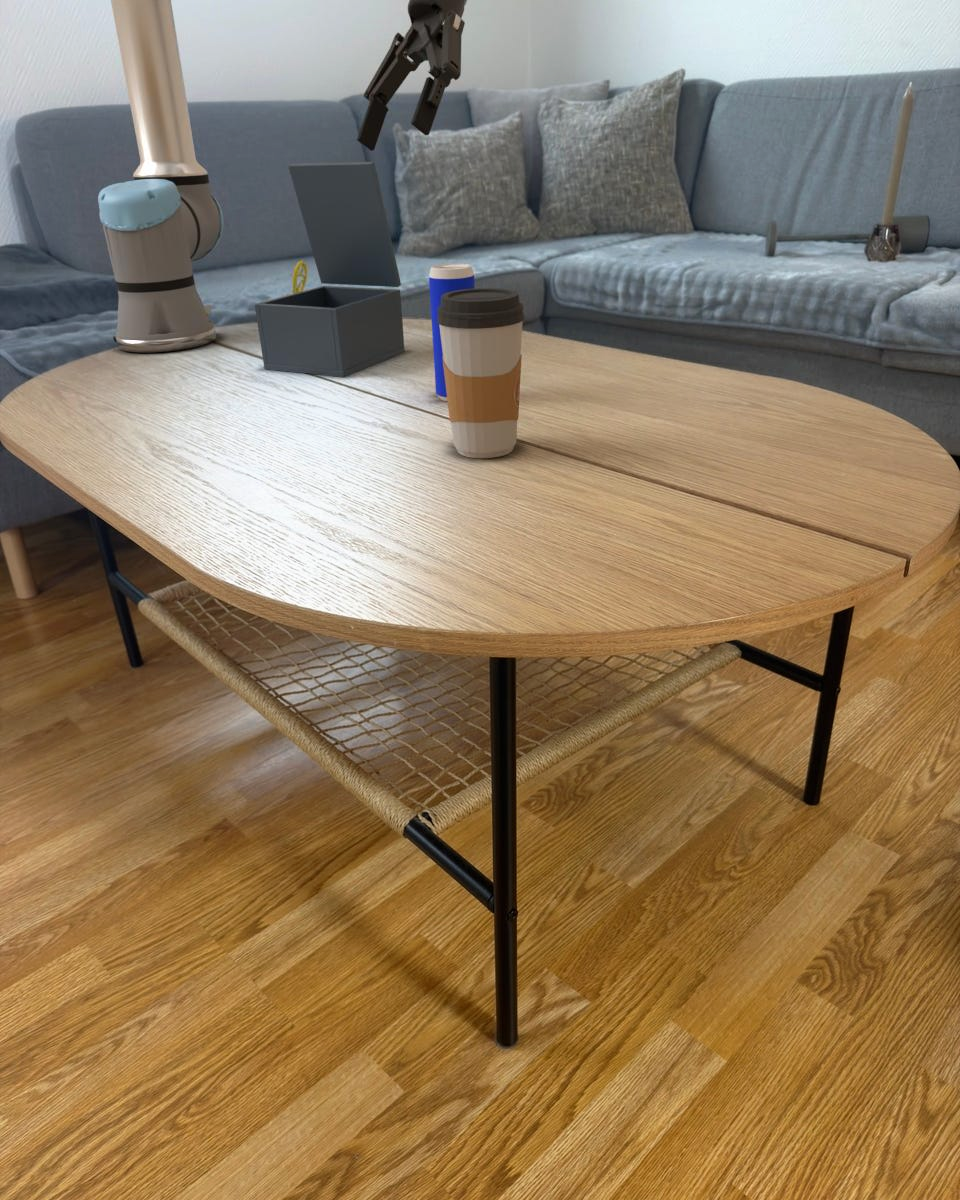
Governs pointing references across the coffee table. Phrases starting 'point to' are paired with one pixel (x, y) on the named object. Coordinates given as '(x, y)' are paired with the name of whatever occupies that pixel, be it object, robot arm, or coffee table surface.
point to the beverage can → (440, 283)
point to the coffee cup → (482, 368)
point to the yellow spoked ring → (295, 275)
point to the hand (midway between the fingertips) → (391, 137)
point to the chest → (330, 330)
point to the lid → (346, 223)
